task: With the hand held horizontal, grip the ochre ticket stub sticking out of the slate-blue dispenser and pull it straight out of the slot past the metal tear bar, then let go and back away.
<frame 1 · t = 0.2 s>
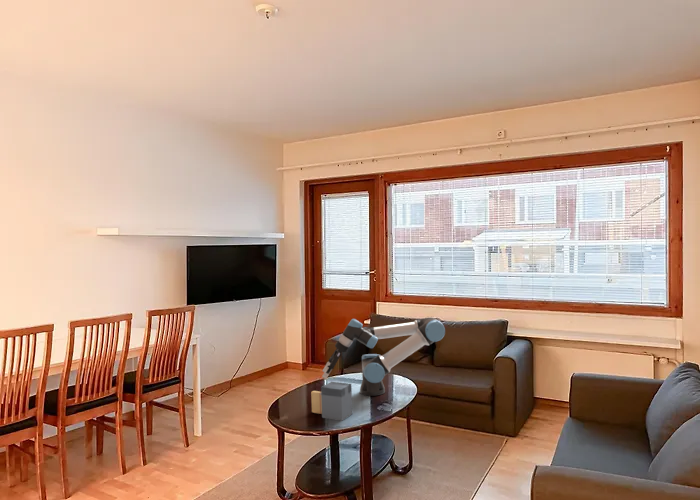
hand: (324, 375, 289), 15 cm above the table, fingers open, 13 cm apart
dispenser: (337, 415, 263), on the table
ticket: (324, 403, 266), point 6 cm above the table, slide at 0.0 cm
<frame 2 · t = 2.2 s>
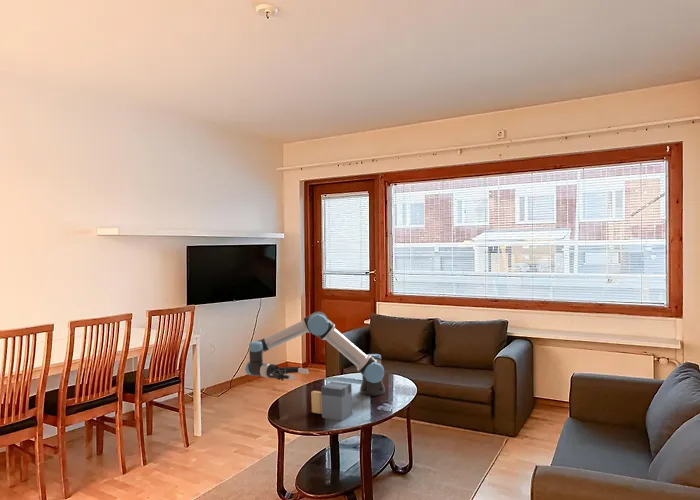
hand: (301, 374, 273), 20 cm above the table, fingers open, 13 cm apart
nothing on the table moved.
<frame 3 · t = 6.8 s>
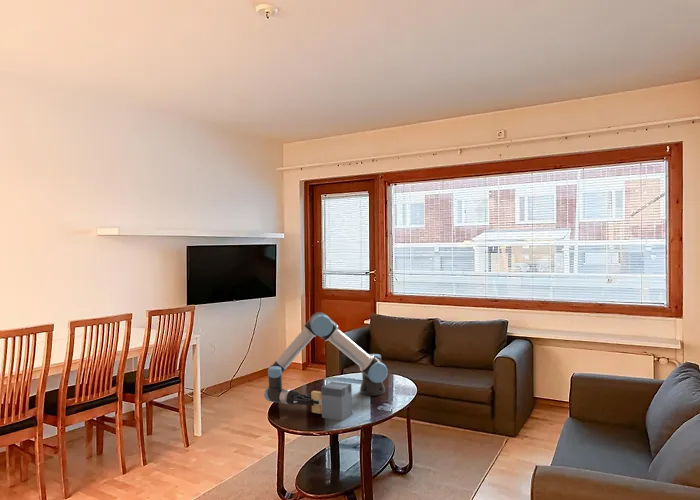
hand: (326, 402, 266), 6 cm above the table, fingers closed on ticket, 3 cm apart
ticket: (324, 403, 266), point 6 cm above the table, slide at 0.0 cm, touching gripper
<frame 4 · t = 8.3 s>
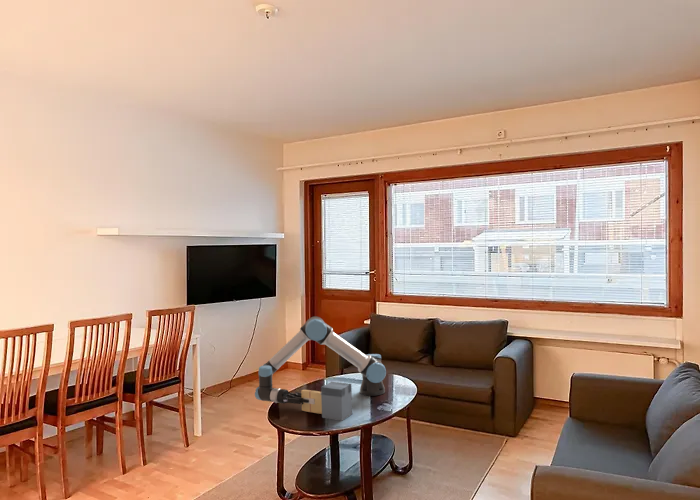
hand: (316, 400, 269), 7 cm above the table, fingers closed on ticket, 3 cm apart
ticket: (314, 401, 269), point 6 cm above the table, slide at 6.4 cm, touching gripper
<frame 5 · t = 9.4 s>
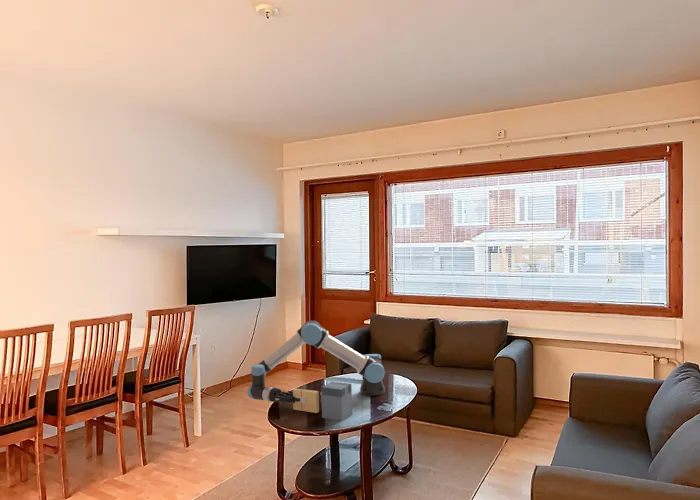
hand: (307, 399, 271), 7 cm above the table, fingers closed on ticket, 3 cm apart
ticket: (305, 400, 272), point 6 cm above the table, slide at 11.9 cm, touching gripper
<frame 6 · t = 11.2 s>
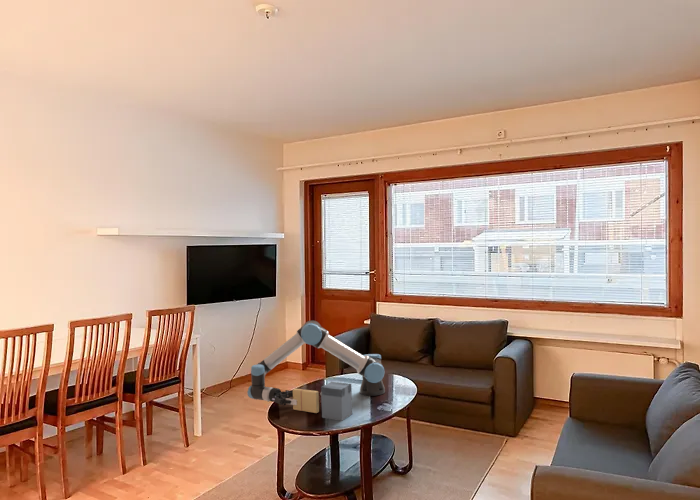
hand: (303, 398, 272), 7 cm above the table, fingers open, 13 cm apart
ticket: (305, 400, 272), point 6 cm above the table, slide at 12.0 cm
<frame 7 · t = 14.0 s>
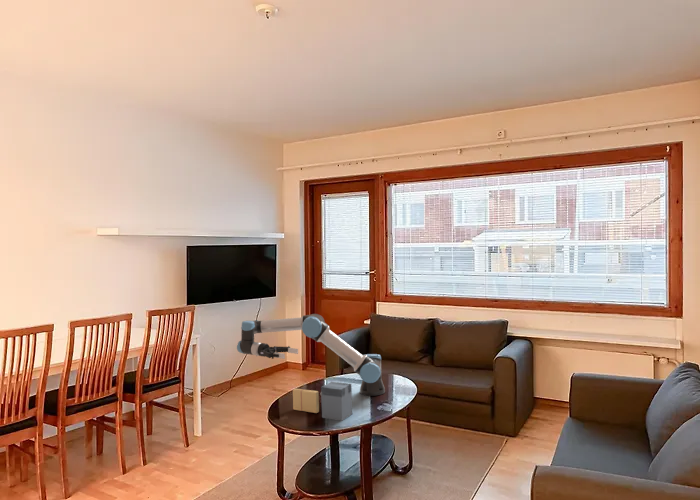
hand: (291, 353, 282), 29 cm above the table, fingers open, 13 cm apart
nothing on the table moved.
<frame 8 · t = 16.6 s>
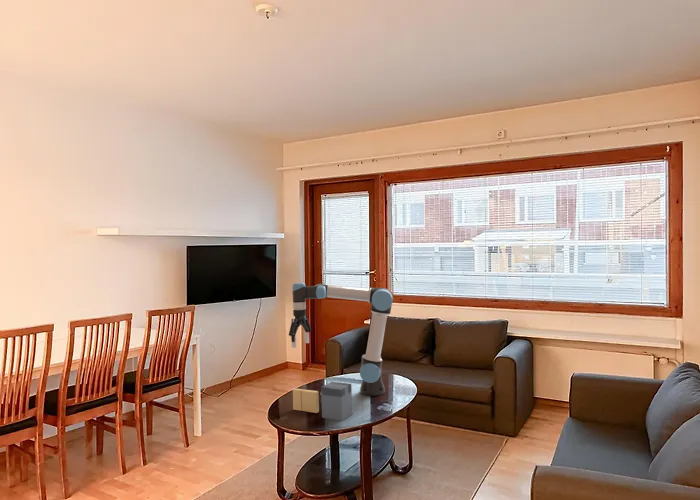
hand: (300, 345, 294), 32 cm above the table, fingers open, 13 cm apart
nothing on the table moved.
at the end: ticket slide at 12.0 cm; the gripper is holding nothing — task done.
